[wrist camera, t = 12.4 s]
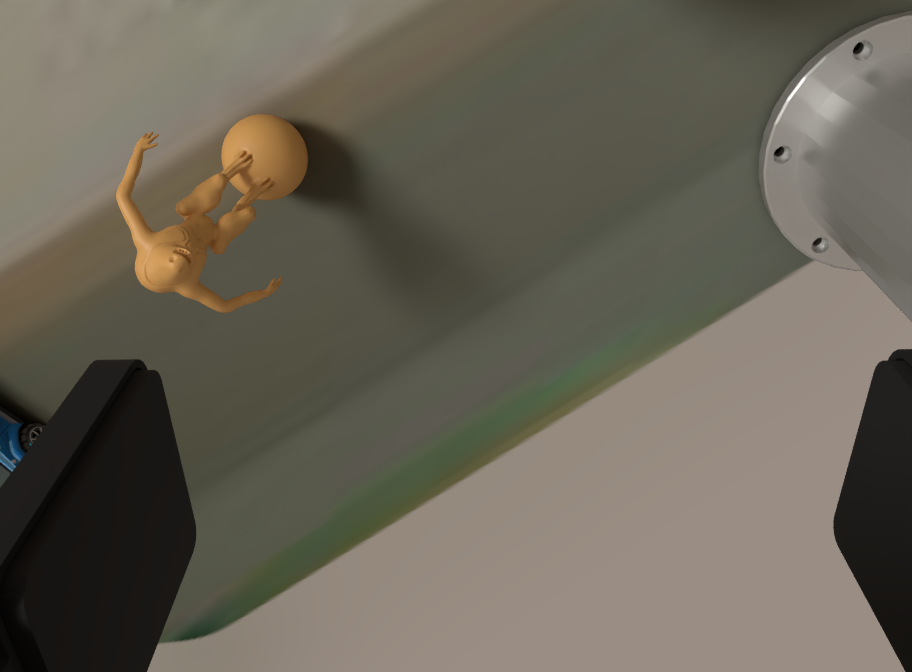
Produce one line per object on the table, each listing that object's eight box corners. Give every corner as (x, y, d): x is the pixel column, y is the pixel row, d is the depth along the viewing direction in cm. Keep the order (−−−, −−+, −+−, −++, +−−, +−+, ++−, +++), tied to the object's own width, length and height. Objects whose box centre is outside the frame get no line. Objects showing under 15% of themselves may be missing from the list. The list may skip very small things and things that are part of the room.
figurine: (356, 190, 42) (321, 300, 32) (266, 250, 44) (205, 374, 34) (248, 49, 39) (169, 121, 28) (154, 120, 41) (48, 213, 30)
